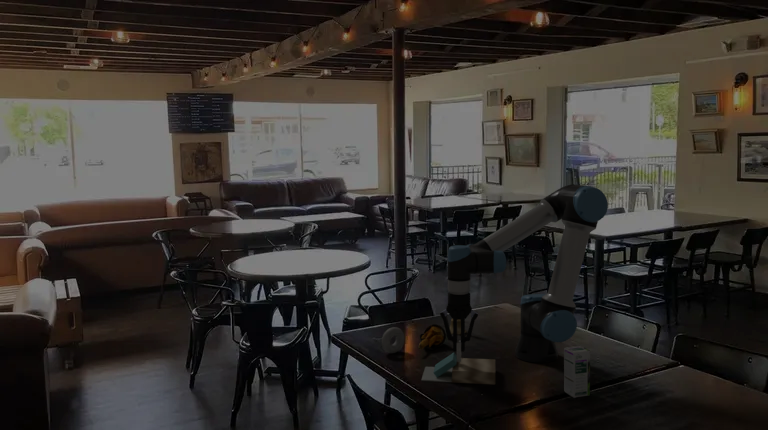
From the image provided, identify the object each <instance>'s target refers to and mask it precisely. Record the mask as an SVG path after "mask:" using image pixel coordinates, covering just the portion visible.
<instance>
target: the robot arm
mask: <svg viewBox="0 0 768 430" xmlns="http://www.w3.org/2000/svg"><path fill="white" fill-rule="evenodd" d="M608 208H609V204H608V199H607V197H606V195H605V193H604V192H603V191H602V190H601V189H599V188H598V187H595V186H591V185H580V184H567V185H564V186H562V187H560V188H557V189H556V190H555V191H553V192H551V193H550V194H548V195H547V196H546V197H544V198H541V200H540V201H539V204H538V205H536V206H535V207H532V208H531V209H530V210H528V211H526V212H525V213H523V214H522V215H520V216H518V217H517V218H515V219H513V220H512V221H510V222H509V223H507V224H506V225H504V226H502V227H501V228H499V229H497V230H496V231H493V232H492V233H491V234H490V235H488V236H486V237H485V238H483V239H481V240H479V241H478V242H476V243H469V244H467V245H460V244H459V245H458V244H457V245H451V246H449V248H448V250H447V291H448V293H447V306H446V308H445V309H444V310H441V311H440V313H439V316H440V317H441V319H442V321H443V325H444V330H445V333H446V338H447V340H448V341H451V342H452V345H453V347H452V350H453V352H456V356H457V362H461V358H462V352H464V353H465V350H466V349H465V348H466V347H465V346H466V344H465V343H466V342H469V341H470V340H471V337H472V334H473V329H474V325H475V322H476V319H477V318H478V316H479V312H478V311H475V310H473V308H472V306H471V293H470V292H471V275H476V274H477V275H478V274H482V275H483V274H498V273H499V274H500V273H503V272H504V271H505V270H506V268H507V258H506V254H505V251H507V250H508V249H509V248H511V247H513V246H514V245H516V244H518V243H519V242H521V241H523V240H524V239H526V238H527V237H529V236H531V235H532V234H534V233H536V232H538V231H539V230H540V229H542V228H544V227H545V226H547V225H550V224H551V223H557V222H559V221H560V220H561V222H562V224H563V226H564V227H563V232H562V236H561V240H560V244H559V247H558V251H557V255H556V259H555V264H554V267H553V270H552V275H551V279H550V283H549V287H548V291H547V293H539V294H538V293H533V294H524V295H522V296H521V298H520V304H519V305H520V335H519V339H518V341H517V344H516V347H515V356H516V358H518V359H519V360H522V361H525V362H529V363H542V364H543V363H550V362H554V361H556V360H557V359H558V356H559V355H558V353H559V351H558V349H557V344H556V343H565V342H566V341H567V340H569V339H571V338H572V337H573V336H574V335H575V333H576V331H577V327H578V321H577V318H576V317H575V315H574V314H575V310H576V308H577V305H576V304H575V302H574V296H575V293H576V289H577V285H578V281H579V277H580V273H581V269H582V265H583V261H584V258H585V254H586V250H587V245H588V243H589V239H590V234H591V233H592V232H593V231H595V230H596V229H597V226H598V223H599V221H601V220H602V219H603V218H604V217H605V216H606V214H607V212H608ZM448 314H449V317H450V318H451V319H453V334H451V331H450V324H449V319H448ZM469 315H470V317H471V318H470V322H469V326H468V330H467V332H466V333H467V334H466V333H465V330H466V322H465V321H466V319H467V318H468V317H469ZM458 319H460V320H461V334H460V340H458V334H457V320H458ZM465 335H466V336H465Z"/></svg>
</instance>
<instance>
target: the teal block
mask: <svg viewBox="0 0 768 430" xmlns="http://www.w3.org/2000/svg"><path fill="white" fill-rule="evenodd" d="M456 363H457V353H455V352H452V353H451V354H449V355H448V356H446V357H445V358H443V359H441V360H440V361H439V362H438V363H436V364H435V365H434V367H435V368H434V372H433V373H434V374H435V376H436V377H439V376H440V375H442V374H443V373H445V372H446V371H448V370H449V369H451V368H453V367H454V366H455V365H456Z"/></svg>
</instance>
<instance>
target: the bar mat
mask: <svg viewBox="0 0 768 430" xmlns="http://www.w3.org/2000/svg"><path fill="white" fill-rule="evenodd" d="M434 368H435V366H425V367H424V371H423V373H422V377H421V382H435V383H436V382H437V383H453V382H452V368H453V367H452V368H451V369H449V370H448V371H446V372H445V373H443V374H442V375H440V376H439V377H436V376H435V374H434V373H433V372H434Z"/></svg>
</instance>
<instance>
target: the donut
mask: <svg viewBox="0 0 768 430" xmlns="http://www.w3.org/2000/svg"><path fill="white" fill-rule="evenodd" d="M393 337H395V341H394V343H391V341H392V338H393ZM404 344H405V334H404V332H403V330H402V329H401V328H399V327H397V326H396V327H394V326H392V327H390V328H387V330H385V331H384V333H383V334H382V338H381V346H382V349H383V351H385V352H386V353H388V354H396V353H398V352H399V351H401V350H402V348H403V346H404Z"/></svg>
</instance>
